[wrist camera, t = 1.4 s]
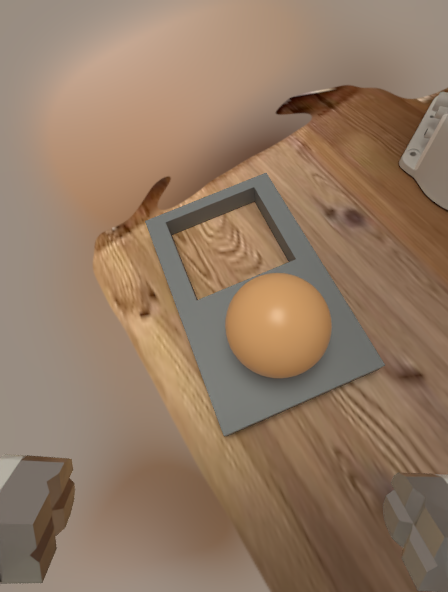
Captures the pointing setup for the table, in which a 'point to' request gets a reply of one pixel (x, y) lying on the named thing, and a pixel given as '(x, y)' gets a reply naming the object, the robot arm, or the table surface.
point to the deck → (212, 309)
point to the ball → (278, 325)
